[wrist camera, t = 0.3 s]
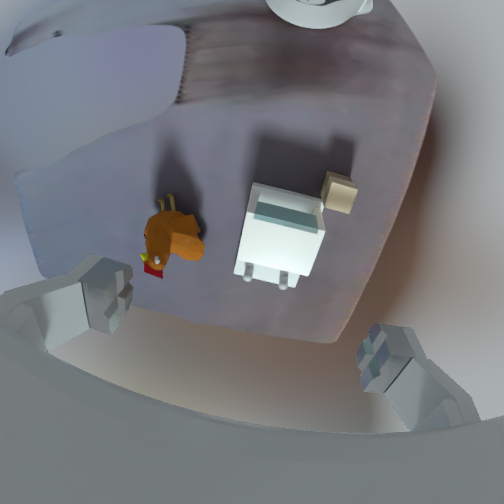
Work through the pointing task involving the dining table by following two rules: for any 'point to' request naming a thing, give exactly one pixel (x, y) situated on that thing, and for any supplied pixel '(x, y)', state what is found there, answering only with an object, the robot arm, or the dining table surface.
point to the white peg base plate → (283, 200)
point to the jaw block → (338, 192)
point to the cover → (281, 237)
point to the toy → (170, 238)
